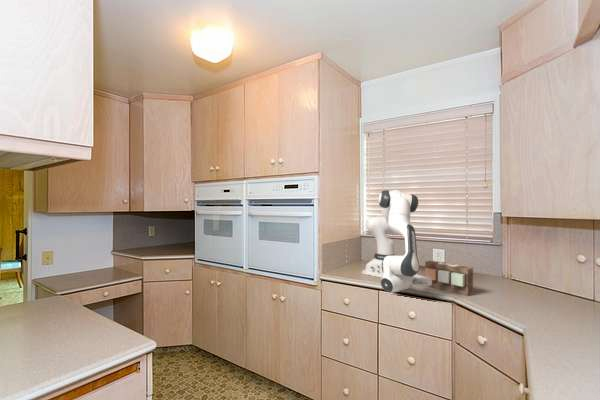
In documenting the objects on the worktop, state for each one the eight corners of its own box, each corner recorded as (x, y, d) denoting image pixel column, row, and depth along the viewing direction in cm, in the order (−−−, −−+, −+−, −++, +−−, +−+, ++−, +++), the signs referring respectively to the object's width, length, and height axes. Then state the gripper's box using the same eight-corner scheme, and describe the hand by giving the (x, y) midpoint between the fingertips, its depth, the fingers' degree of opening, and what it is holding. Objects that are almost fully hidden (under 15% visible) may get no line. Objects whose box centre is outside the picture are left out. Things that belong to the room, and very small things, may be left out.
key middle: (437, 281, 173) (437, 270, 173) (441, 279, 176) (442, 269, 176) (448, 283, 168) (448, 272, 168) (452, 282, 171) (452, 271, 171)
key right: (451, 284, 167) (451, 273, 167) (455, 282, 170) (455, 271, 170) (462, 286, 162) (462, 275, 162) (466, 285, 165) (466, 274, 165)
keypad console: (425, 285, 182) (425, 260, 181) (430, 283, 185) (430, 259, 185) (467, 296, 163) (467, 268, 162) (472, 293, 166) (473, 266, 166)
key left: (425, 278, 179) (425, 267, 179) (429, 277, 182) (429, 266, 182) (435, 280, 174) (435, 269, 174) (439, 279, 177) (439, 268, 177)
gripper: (423, 278, 153) (438, 274, 162) (389, 270, 169) (403, 267, 178) (423, 290, 153) (438, 286, 162) (388, 282, 169) (403, 278, 178)
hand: (419, 276), depth 170 cm, fingers closed
